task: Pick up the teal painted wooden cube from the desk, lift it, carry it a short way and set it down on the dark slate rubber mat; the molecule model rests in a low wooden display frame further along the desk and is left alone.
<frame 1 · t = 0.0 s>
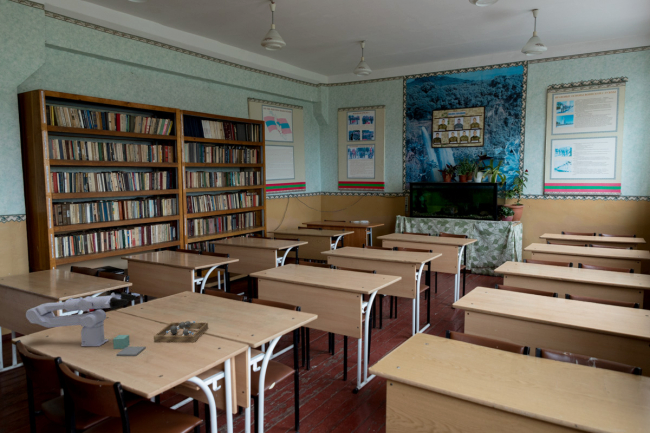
hand: (131, 299, 208), 22 cm above the table, tool horizontal, fingers open, 7 cm apart
molecule model: (181, 335, 220), resting in display frame
display frame: (182, 334, 220), on the table
cube: (121, 347, 206), on the table
mat: (131, 352, 199), on the table
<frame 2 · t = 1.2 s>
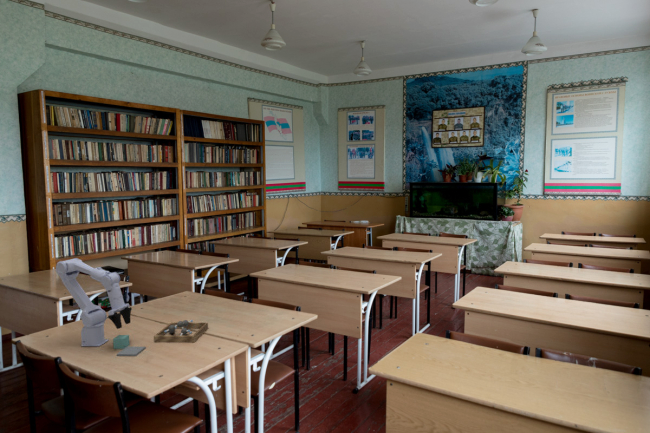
hand: (123, 325, 205), 10 cm above the table, tool pointing down, fingers open, 7 cm apart
molecule model: (179, 334, 222), resting in display frame
everything else where it was.
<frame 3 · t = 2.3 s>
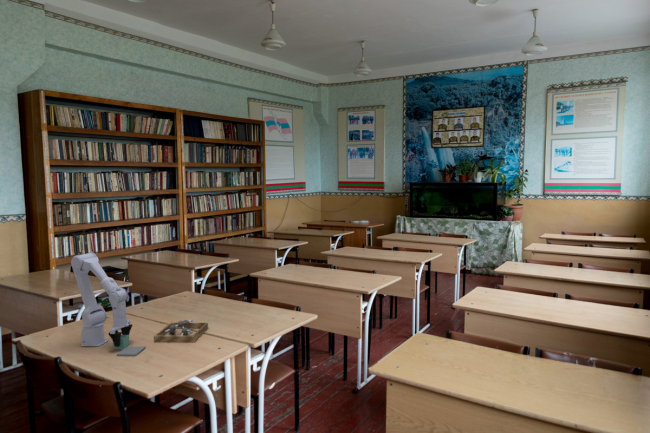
hand: (121, 343, 206), 2 cm above the table, tool pointing down, fingers open, 7 cm apart
molecule model: (180, 334, 222), resting in display frame
everything else where it was.
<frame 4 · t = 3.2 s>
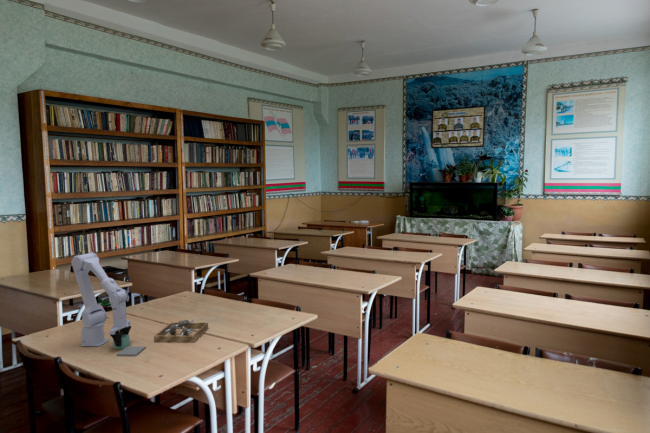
hand: (121, 343, 206), 1 cm above the table, tool pointing down, fingers closed on cube, 5 cm apart
molecule model: (180, 334, 222), resting in display frame
cube: (121, 346, 206), on the table, touching gripper
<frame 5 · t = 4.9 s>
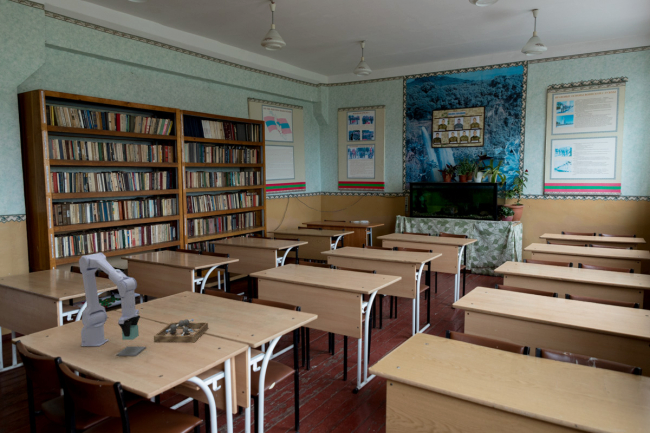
hand: (130, 334, 199), 8 cm above the table, tool pointing down, fingers closed on cube, 5 cm apart
cube: (130, 337, 199), point 7 cm above the table, touching gripper
when the fingers open (4 cm above the table, at t = 6.7 s): cube drops 1 cm, resting on mat.
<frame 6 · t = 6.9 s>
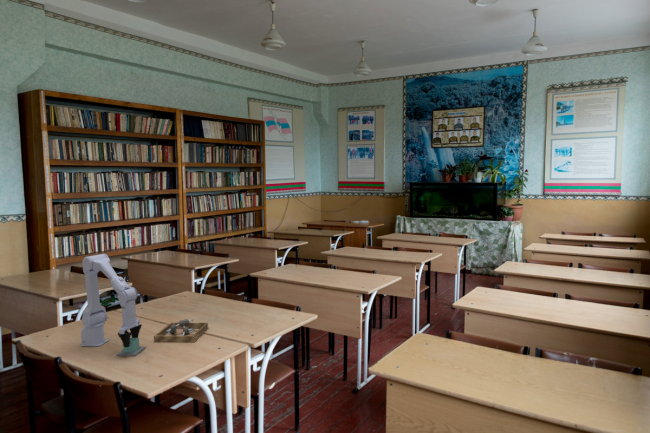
hand: (130, 343, 199), 4 cm above the table, tool pointing down, fingers open, 7 cm apart
cube: (131, 350, 199), point 1 cm above the table, touching mat
everything else where it was.
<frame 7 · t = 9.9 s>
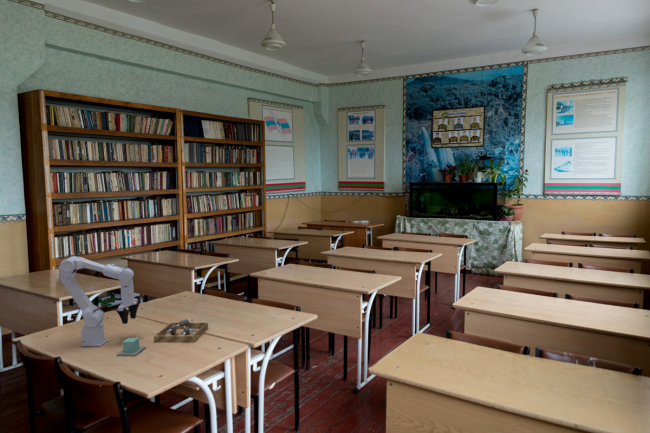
hand: (129, 320, 213), 10 cm above the table, tool pointing down, fingers open, 7 cm apart
nothing on the table moved.
at the end: cube inside the target area on the mat (0.1 cm from its centre), point 0.8 cm above the mat's base; cube tilted 0°; the gripper is holding nothing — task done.
